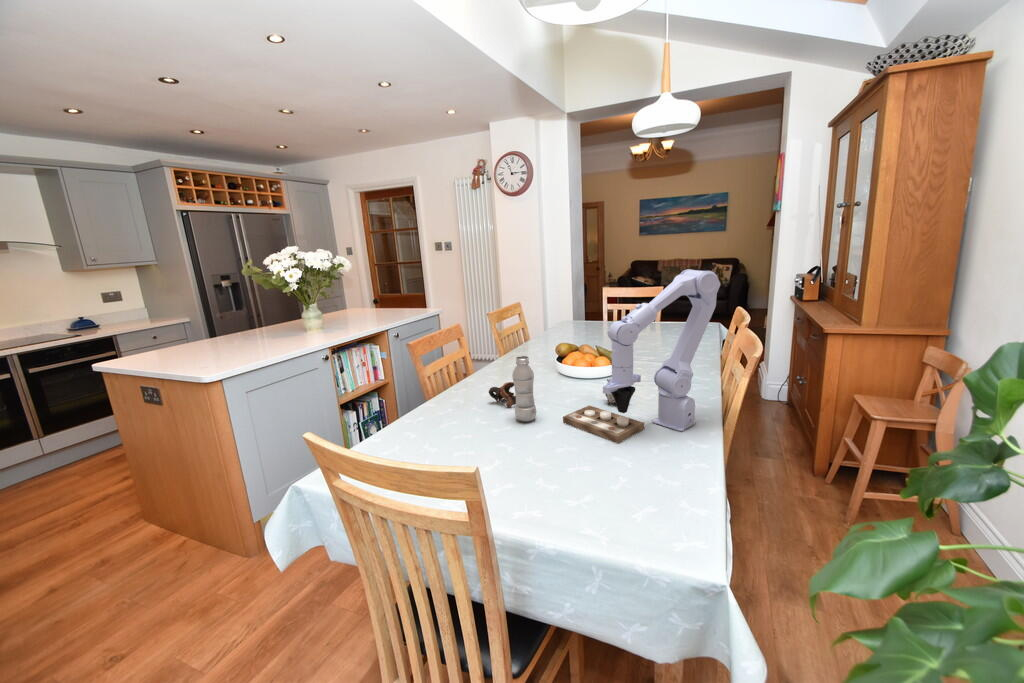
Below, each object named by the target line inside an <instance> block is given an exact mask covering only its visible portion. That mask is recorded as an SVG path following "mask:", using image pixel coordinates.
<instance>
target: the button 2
mask: <svg viewBox="0 0 1024 683" xmlns="http://www.w3.org/2000/svg"><path fill="white" fill-rule="evenodd" d="M628 418H629V417H628ZM628 418H627V416H625V417H618V418H617V426H620V427H623V428H625V427H627V426H629V419H628Z"/></svg>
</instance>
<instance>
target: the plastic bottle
mask: <svg viewBox="0 0 1024 683" xmlns="http://www.w3.org/2000/svg"><path fill="white" fill-rule="evenodd" d="M515 364H516V366H515V367H514V369H513V370H512V375H511V377H512V381H513V382H514V386H513V387H514V395H515V396H516V404H515V405H514V415H515V418H516V419H517V421H519V422H523V423H525V422H531V421H534V420H535V419H536V417H537V413H538V412H537V407H536V403H535V397H534V380H535V372H534V370H533V369H532V367H530V365H529V364H530V360H529V356H527V355H520V356H516V358H515Z"/></svg>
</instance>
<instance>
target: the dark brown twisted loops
mask: <svg viewBox="0 0 1024 683" xmlns="http://www.w3.org/2000/svg"><path fill="white" fill-rule="evenodd" d="M514 387H515V386H514V382H512V381H507V382H505V383H504V384H503V385H502V386H500V387H497V386H491V387H490V388H489V390H488V393H489V396H490V397H491V398H492V399H494V400H495V401H496V402H500V401H501V400H502V399H504V400H505V401H507V402H506V404H505V407H507V408H509V407H511V408H512V406H516V395H515V392H512V391H510V390H511V388H514Z"/></svg>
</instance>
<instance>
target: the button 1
mask: <svg viewBox="0 0 1024 683" xmlns="http://www.w3.org/2000/svg"><path fill="white" fill-rule="evenodd" d="M584 414H585V415H588V416H593V415H595V411H593V410H586V411H584Z"/></svg>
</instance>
